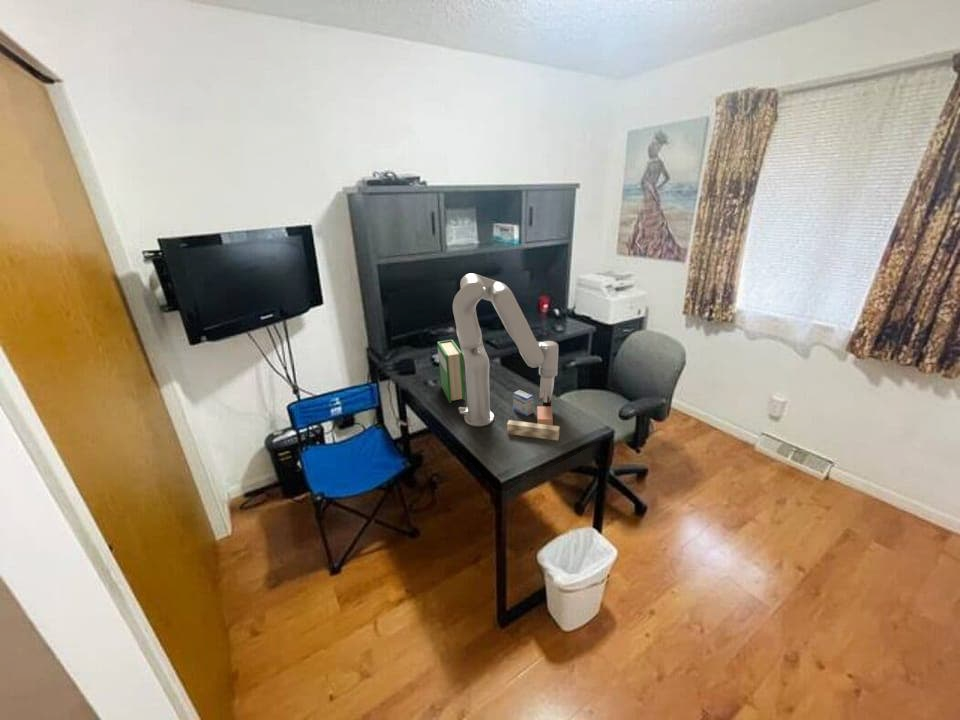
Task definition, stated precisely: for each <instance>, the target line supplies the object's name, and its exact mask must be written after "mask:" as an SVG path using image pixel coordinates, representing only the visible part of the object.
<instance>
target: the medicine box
mask: <svg viewBox="0 0 960 720" xmlns="http://www.w3.org/2000/svg"><path fill="white" fill-rule="evenodd" d="M512 400H513V401H512V402H513V403H512V410H513V411H514V412H517V413H518V414H521V415H523V416H526V417H528V416H530V415H531V414H533V413H534V395H533V394H531V393H527V392H526V391H523V390H521V389H518V390H517V391H514V392H513V394H512Z"/></svg>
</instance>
